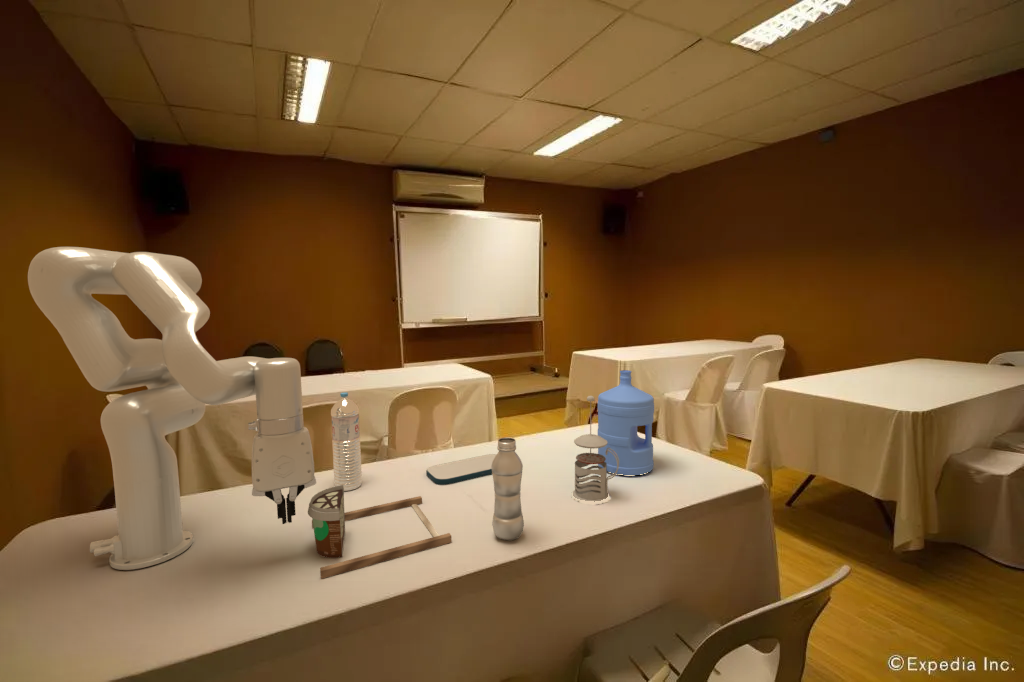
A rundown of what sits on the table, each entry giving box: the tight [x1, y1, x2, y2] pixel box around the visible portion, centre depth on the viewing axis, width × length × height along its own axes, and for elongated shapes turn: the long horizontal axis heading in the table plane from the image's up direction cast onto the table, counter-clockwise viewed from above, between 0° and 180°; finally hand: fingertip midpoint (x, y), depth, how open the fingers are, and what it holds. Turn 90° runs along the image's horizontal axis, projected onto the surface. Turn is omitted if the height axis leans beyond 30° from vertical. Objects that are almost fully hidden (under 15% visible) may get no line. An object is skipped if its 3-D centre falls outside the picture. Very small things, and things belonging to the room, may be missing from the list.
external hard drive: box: [425, 453, 497, 486], centre depth 126 cm, size 24×12×2 cm, turn 121°
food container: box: [307, 485, 346, 559], centre depth 87 cm, size 12×6×10 cm, turn 17°
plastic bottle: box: [491, 437, 525, 541], centre depth 89 cm, size 6×7×20 cm
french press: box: [572, 395, 619, 502], centre depth 107 cm, size 10×12×25 cm
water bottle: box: [330, 392, 363, 492], centre depth 115 cm, size 7×7×25 cm
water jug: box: [597, 369, 655, 475], centre depth 126 cm, size 16×16×28 cm
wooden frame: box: [311, 495, 452, 580], centre depth 92 cm, size 24×21×1 cm
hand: (287, 520), depth 83 cm, fingers closed
